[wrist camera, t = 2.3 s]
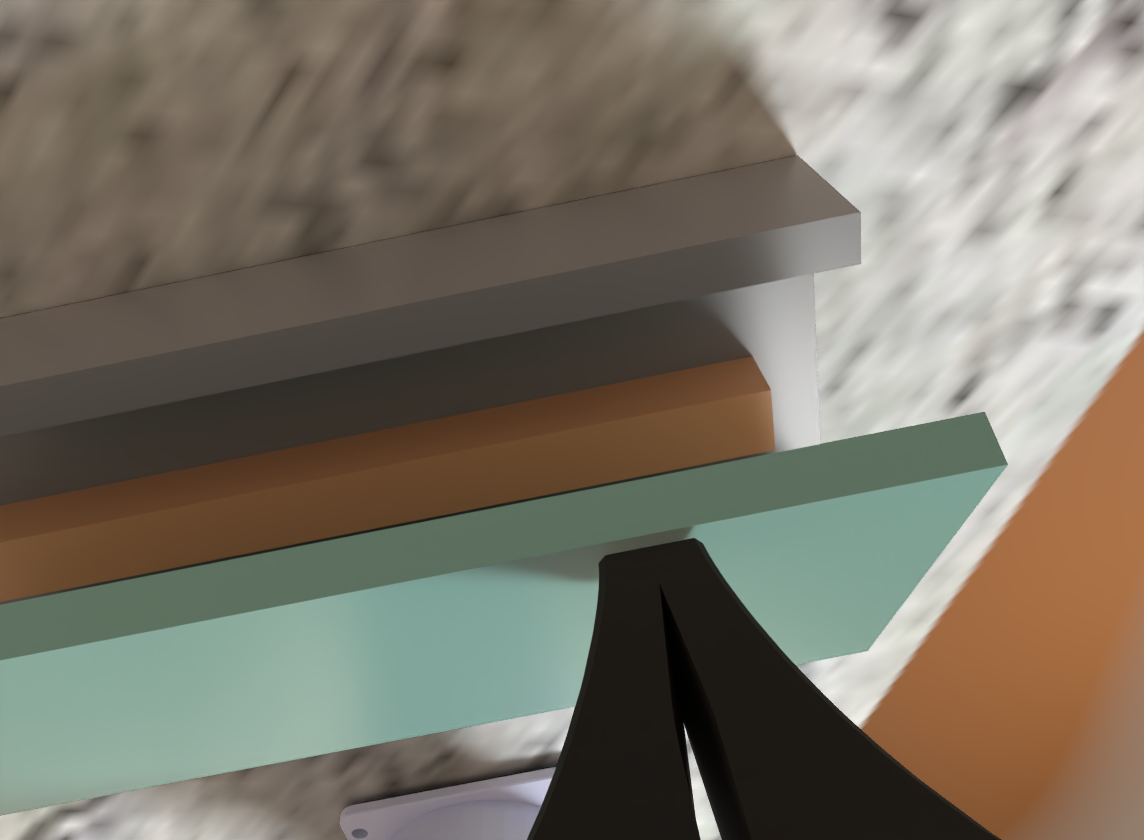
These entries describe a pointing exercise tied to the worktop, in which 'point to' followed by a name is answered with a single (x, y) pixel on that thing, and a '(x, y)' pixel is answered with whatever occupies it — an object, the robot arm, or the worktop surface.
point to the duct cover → (456, 613)
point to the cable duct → (415, 377)
